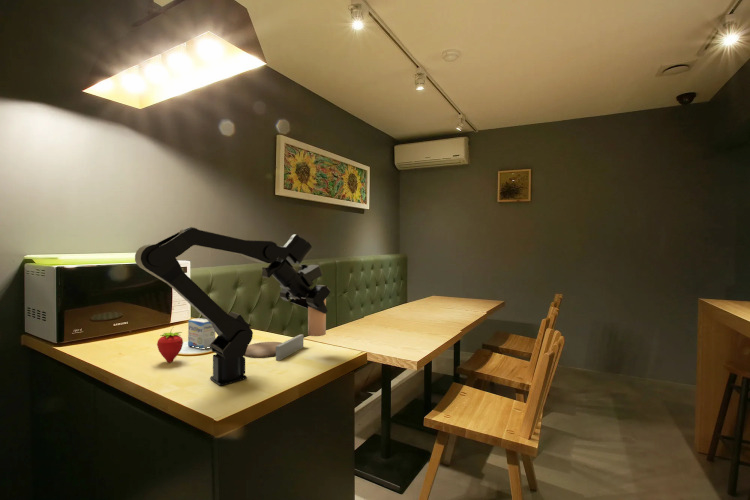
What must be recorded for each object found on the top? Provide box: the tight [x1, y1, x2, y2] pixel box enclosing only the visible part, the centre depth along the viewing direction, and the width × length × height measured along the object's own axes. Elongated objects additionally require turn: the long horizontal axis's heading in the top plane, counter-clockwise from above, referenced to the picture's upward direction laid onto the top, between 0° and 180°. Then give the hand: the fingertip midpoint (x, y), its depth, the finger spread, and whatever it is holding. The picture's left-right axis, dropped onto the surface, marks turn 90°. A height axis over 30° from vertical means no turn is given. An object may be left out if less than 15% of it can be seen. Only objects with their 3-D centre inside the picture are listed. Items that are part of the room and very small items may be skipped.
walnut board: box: [243, 341, 282, 359], centre depth 109 cm, size 14×14×1 cm
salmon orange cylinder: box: [307, 298, 327, 337], centre depth 104 cm, size 5×5×11 cm
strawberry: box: [156, 326, 184, 364], centre depth 98 cm, size 6×8×10 cm
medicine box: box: [187, 317, 216, 348], centre depth 114 cm, size 8×4×9 cm, turn 62°
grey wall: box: [275, 334, 304, 361], centre depth 106 cm, size 14×1×4 cm, turn 163°
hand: (320, 311), depth 105 cm, fingers closed on salmon orange cylinder, 5 cm apart
